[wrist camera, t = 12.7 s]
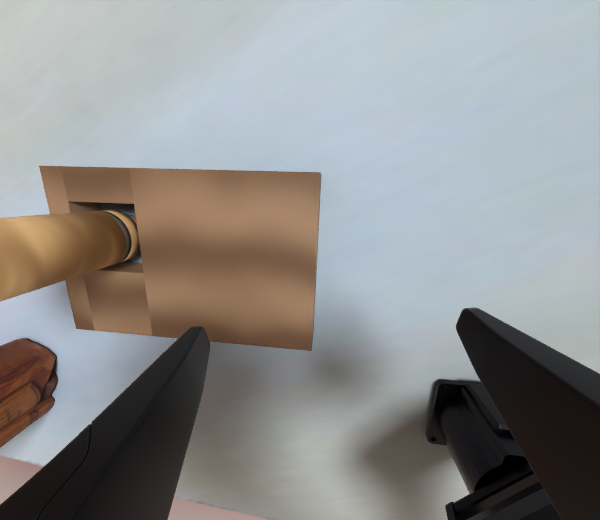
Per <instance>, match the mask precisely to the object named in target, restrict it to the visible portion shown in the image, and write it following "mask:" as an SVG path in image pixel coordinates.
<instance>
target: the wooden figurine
mask: <svg viewBox="0 0 600 520" xmlns="http://www.w3.org/2000/svg"><path fill="white" fill-rule="evenodd" d="M55 359H56V356H55V355H54V354H53V353H52V352H51V351H50V350H49V349H48V348H45V347H43V346H41V345H39V344H37V343H34V342H31V341H29V340H27V339H18V340H14V341H12V342H9V343H7V344H4V345H2V346H0V447H2V446H3V445H4V444H6V443H7V442H8V441H10V440H11V439H12V438H13V437H15V436H16V435H17V434H19V433H20V432H21V431H23V430H24V429H25V428H26V427H28V426H29V425H30V424H32V423H33V422H34V421H36V420H37V419H38V418H40V417H41V416H42V415H44V414H45V413H46V412H47V411H48V410H49V409H50V408H51V407H52V406H53V404H54V401H55V400H54V399H53V398H52V397H51V394H52V392H53V391H54V389H55V385H56V383H57V377H56V375H55V374H54V373H52V372H51V371H52V369H53V366H54V362H55Z"/></svg>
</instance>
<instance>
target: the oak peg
mask: <svg viewBox="0 0 600 520" xmlns="http://www.w3.org/2000/svg"><path fill="white" fill-rule="evenodd" d="M139 250H140V243H139V236H138V229H137V222H136V216H133V215H127V214H125V213H123V212H121V211H117V210H105V211H91V212H77V213H63V214H49V215H35V216H21V217H7V218H0V301H3V300H6V299H9V298H12V297H15V296H18V295H21V294H24V293H27V292H31V291H34V290H37V289H40V288H43V287H46V286H49V285H52V284H55V283H58V282H61V281H64V280H67V279H70V278H74V277H77V276H80V275H83V274H86V273H89V272H92V271H95V270H98V269H101V268H104V267H107V266H110V265H113V264H116V263H120V262H123V261H126V260H129V259H131V258H133V257H134V256H136V255H137V253H138V252H139Z"/></svg>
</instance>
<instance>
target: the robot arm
mask: <svg viewBox="0 0 600 520" xmlns="http://www.w3.org/2000/svg"><path fill="white" fill-rule="evenodd" d="M456 329H457V333H458V335H459V337H460V339H461V341H462V344H463V346H464V348H465V350H466V352H467V354H468V357H469V359H470V361H471V363H472V365H473V367H474V369H475V371H476V373H477V375H478V377H479V379H480V381H481V382H482V384H479V383H469V382H459V381H449V380H440V381H438V382H437V384H436V388H435V393H434V398H433V403H432V408H431V412H430V417H429V422H428V427H427V432H426V437H427V440H428V442H430V443H432V444H440V445H447V446H448V449H449V451H450V453H451V455H452V457H453V459H454V461H455V463H456V465H457V468H458V470H459V472H460V474H461V476H462V478H463V480H464V482H465V484H466V487H467V489H468V491H469V493H470V494H469V495H467V496H465V497H463V498H462V499H460V500H458V501H456V502H454V503H453V502H450V503H449V504H447V505H445V507H446V512H447V517H448V520H600V374H599V373H597V372H595V371H593V370H592V369H590V368H588V367H586V366H584V365H582V364H580V363H579V362H577V361H575V360H573V359H571V358H569V357H567V356H566V355H564V354H562V353H560V352H558V351H556V350H554V349H553V348H551V347H549V346H547V345H545V344H543V343H541V342H540V341H538V340H536V339H534V338H532V337H530V336H529V335H527V334H525V333H523V332H521V331H519V330H517V329H516V328H514V327H512V326H510V325H508V324H506V323H504V322H503V321H501V320H499V319H497V318H495V317H493V316H491V315H490V314H488V313H486V312H484V311H482V310H480V309H478V308H465V309H463V310H462V312H461V314H460V317H459V319H458V322H457V324H456ZM209 351H210V341H209V339H208V336H207V333H206V330H205V328H204V327H203V326H196V327H191V328H189V329H188V330H187V331H186V332H185V333H184V334H183V335H182V336H181V337H180V338H179V339H178V340H177V341H176V342H175V343H174V344H173V345H171V346H170V347H169V348H168V349H167V350H166V351H165V352H164V353H163V354H162V355H161V356H160V357H159V358H158V359H157V360H156V361H155V362H154V363H153V364H152V365H151V366H150V367H149V368H148V369H147V370H145V371H144V372H143V373H142V374H141V375H140V376H139V377H138V378H137V379H136V380H135V381H134V382H133V383H132V384H131V385H130V386H129V387H128V388H127V389H126V390H125V391H124V392H123V393H122V394H121V395H119V396H118V397H117V398H116V399H115V400H114V401H113V402H112V403H111V404H110V405H109V406H108V407H107V408H106V409H105V410H104V411H103V412H102V413H101V414H100V415H99V416H98V417H97V418H96V419H95V420H93V422H92V425H91V424H90V425H88V426H87V427H86V428H85V429H84V430H83V431H82V432H81V433H80V434H79V435H78V436H77V437H76V438H75V439H74V440H72V441H71V442H70V443H69V444H68V445H67V446H66V447H65V448H64V449H63V450H62V451H61V452H60V453H59V454H57V455H56V456H55V457H54V458H53V459H52V460H51V461H50V462H49V463H48V464H46V465H45V466H44V467H43V468H42V469H41V470H40V471H39V472H37V473H36V474H35V475H34V476H33V477H32V478H31V479H30V480H28V481H27V482H26V483H25V484H24V485H23V486H22V487H21V488H19V489H18V490H17V491H16V492H15V493H14V494H12V495H11V496H10V497H9V498H8V499H7V500H5V501H4V502H3V503H2V504H1V505H0V520H167V519H168V516H169V512H170V508H171V505H172V501H173V498H174V494H175V491H176V487H177V483H178V480H179V476H180V473H181V469H182V465H183V462H184V458H185V454H186V451H187V447H188V444H189V440H190V436H191V433H192V429H193V426H194V422H195V418H196V415H197V411H198V408H199V404H200V400H201V396H202V392H203V387H204V381H205V375H206V369H207V363H208V357H209ZM443 386H445V387H443Z"/></svg>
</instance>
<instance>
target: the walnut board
mask: <svg viewBox="0 0 600 520" xmlns="http://www.w3.org/2000/svg"><path fill="white" fill-rule="evenodd" d="M39 167H40V171H41V176H42V180H43V184H44V189H45V193H46V198H47V202H48V206H49V211H50V214H63V213H77V212H91V211H100V207H99V203H125V204H134V208H135V215H136V222H137V229H138V236H139V243H140V251H141V258H142V263H133V262H120V263H116V264H113V265H110V266H107V267H104V268H101V269H98V270H95V271H92V272H89V273H86V274H83V275H80V276H77V277H74V278H70V279H67V280H65V281H66V286H67V290H68V294H69V299H70V303H71V308H72V312H73V316H74V321H75V325H76V329H84V330H95V331H106V332H116V333H127V334H138V335H148V336H159V337H170V338H180V337H181V336H182V335H183V334H184V333H185V332H186V331H187V330H188V329H189V328H191V327H196V326H203V327H204V328H205V330H206V333H207V336H208V339H209V341H213V342H223V343H234V344H245V345H255V346H266V347H277V348H287V349H298V350H309V351H311V350H312V341H313V329H314V309H315V289H316V270H317V250H318V230H319V210H320V191H321V173H318V172H276V171H234V170H192V169H150V168H108V167H66V166H39Z"/></svg>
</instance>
